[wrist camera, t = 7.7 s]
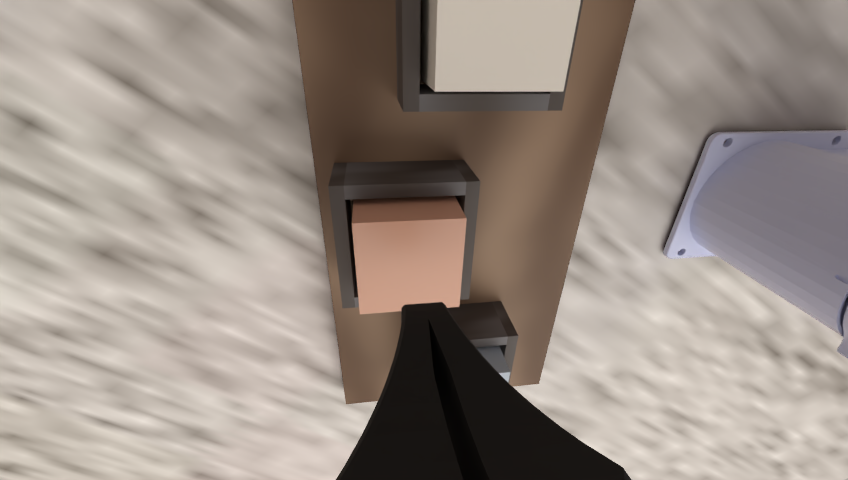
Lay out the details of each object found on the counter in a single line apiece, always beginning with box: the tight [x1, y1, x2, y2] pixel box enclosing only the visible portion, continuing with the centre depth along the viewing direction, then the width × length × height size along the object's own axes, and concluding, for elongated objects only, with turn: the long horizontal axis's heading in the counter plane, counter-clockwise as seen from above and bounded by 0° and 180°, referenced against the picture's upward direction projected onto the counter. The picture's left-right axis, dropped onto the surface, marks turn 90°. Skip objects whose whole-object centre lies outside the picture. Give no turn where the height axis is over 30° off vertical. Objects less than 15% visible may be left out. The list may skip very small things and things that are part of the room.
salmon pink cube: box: [352, 196, 467, 314], centre depth 17 cm, size 4×4×4 cm
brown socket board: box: [292, 0, 635, 404], centre depth 19 cm, size 14×28×4 cm, turn 179°
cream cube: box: [421, 0, 581, 92], centre depth 13 cm, size 4×4×4 cm
